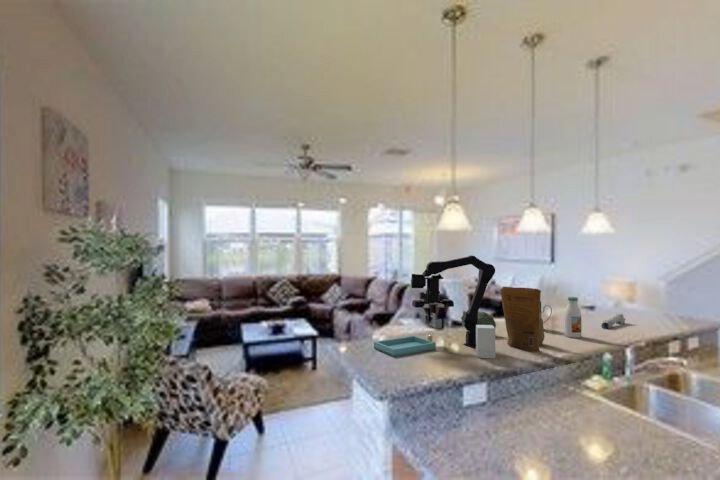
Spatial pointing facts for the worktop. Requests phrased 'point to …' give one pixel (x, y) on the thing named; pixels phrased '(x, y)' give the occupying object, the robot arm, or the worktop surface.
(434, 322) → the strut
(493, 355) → the supplement box
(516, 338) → the pancake mix bag
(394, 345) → the bin
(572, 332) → the milk bottle
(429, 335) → the ball stud
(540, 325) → the squeeze bottle
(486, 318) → the vegetable
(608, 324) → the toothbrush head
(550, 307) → the glass holder
